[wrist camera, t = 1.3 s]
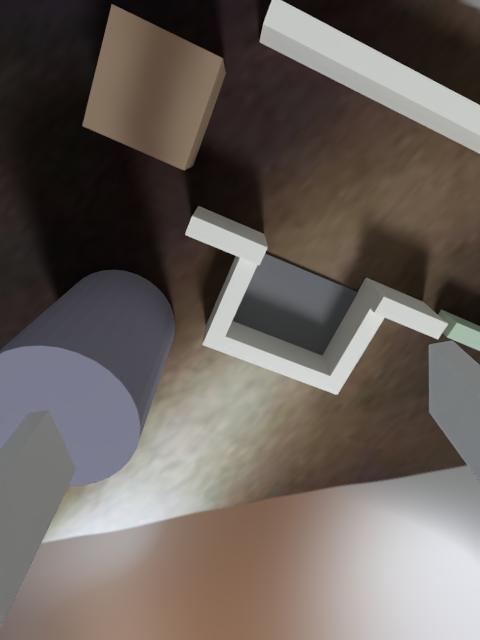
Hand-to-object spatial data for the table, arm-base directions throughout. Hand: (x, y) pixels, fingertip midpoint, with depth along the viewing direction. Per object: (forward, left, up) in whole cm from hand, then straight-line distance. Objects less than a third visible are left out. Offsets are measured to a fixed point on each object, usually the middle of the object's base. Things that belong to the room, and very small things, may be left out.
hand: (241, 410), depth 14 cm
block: (-10, +8, -24) cm, 27 cm away
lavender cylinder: (-8, -11, -24) cm, 27 cm away
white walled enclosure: (+6, +4, -23) cm, 25 cm away
